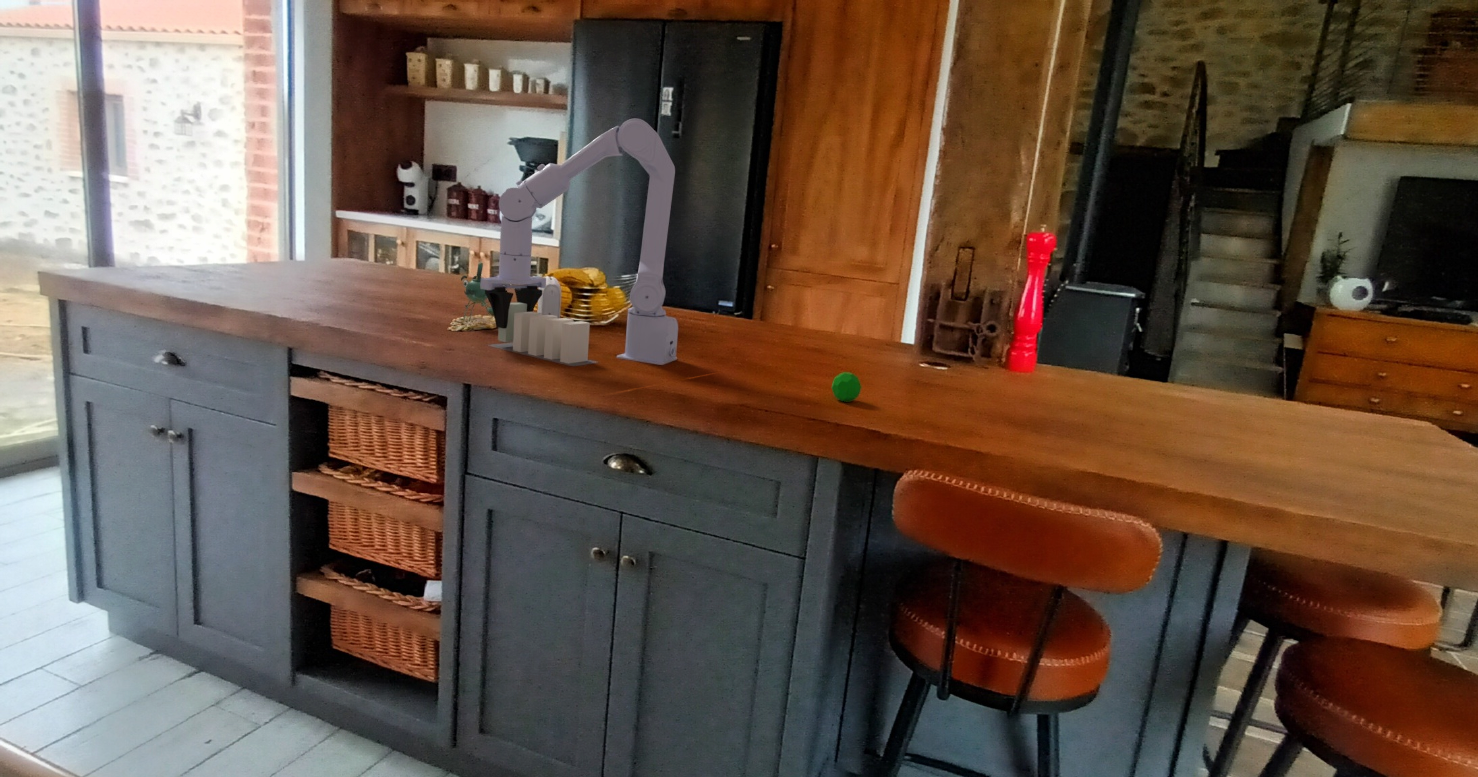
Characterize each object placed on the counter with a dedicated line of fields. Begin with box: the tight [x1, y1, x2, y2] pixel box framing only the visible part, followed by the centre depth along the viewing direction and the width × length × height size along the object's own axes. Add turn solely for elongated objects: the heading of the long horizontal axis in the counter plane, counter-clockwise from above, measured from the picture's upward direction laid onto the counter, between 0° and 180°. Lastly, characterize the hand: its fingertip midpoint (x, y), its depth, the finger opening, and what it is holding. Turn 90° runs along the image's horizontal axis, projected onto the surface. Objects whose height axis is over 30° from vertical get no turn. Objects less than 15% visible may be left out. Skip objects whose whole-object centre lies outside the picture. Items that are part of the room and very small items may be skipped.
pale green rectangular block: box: [497, 302, 527, 343], centre depth 165 cm, size 2×5×7 cm, turn 148°
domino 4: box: [560, 320, 591, 364], centre depth 157 cm, size 2×5×7 cm, turn 147°
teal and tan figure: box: [447, 261, 497, 332], centre depth 183 cm, size 10×18×15 cm, turn 155°
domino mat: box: [486, 342, 600, 367], centre depth 162 cm, size 22×7×1 cm, turn 57°
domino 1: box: [513, 311, 542, 352], centre depth 163 cm, size 2×5×7 cm, turn 147°
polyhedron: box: [831, 372, 862, 403], centre depth 148 cm, size 5×5×5 cm
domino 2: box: [528, 315, 557, 356], centre depth 161 cm, size 2×5×7 cm, turn 148°
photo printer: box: [537, 275, 562, 319], centre depth 182 cm, size 10×4×12 cm, turn 17°
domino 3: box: [544, 317, 574, 360], centre depth 159 cm, size 2×5×7 cm, turn 148°
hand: (512, 326), depth 165 cm, fingers closed on pale green rectangular block, 5 cm apart
